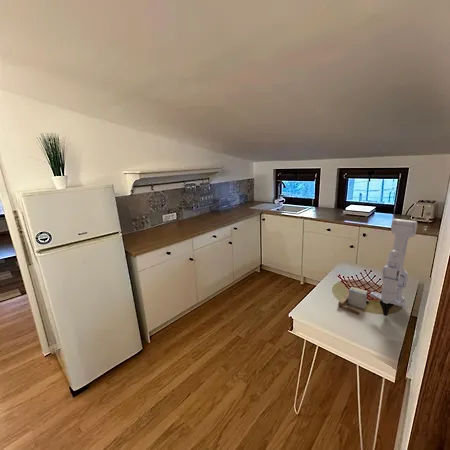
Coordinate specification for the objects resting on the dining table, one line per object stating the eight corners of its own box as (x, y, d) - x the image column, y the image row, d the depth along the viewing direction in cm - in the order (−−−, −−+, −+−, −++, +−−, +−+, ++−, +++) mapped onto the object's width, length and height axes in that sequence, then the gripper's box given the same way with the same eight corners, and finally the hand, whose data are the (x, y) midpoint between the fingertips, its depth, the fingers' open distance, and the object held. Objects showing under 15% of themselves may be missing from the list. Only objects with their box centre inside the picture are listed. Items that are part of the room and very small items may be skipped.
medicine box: (366, 305, 132) (367, 290, 130) (363, 309, 129) (365, 294, 127) (350, 300, 137) (351, 286, 135) (347, 304, 134) (348, 289, 132)
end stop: (349, 295, 141) (350, 290, 140) (369, 302, 134) (369, 297, 133) (338, 306, 133) (338, 301, 132) (358, 315, 125) (358, 310, 124)
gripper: (369, 287, 121) (366, 311, 125) (404, 299, 110) (400, 325, 115) (374, 282, 125) (371, 305, 129) (409, 293, 115) (405, 318, 119)
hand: (385, 314), depth 122 cm, fingers closed
